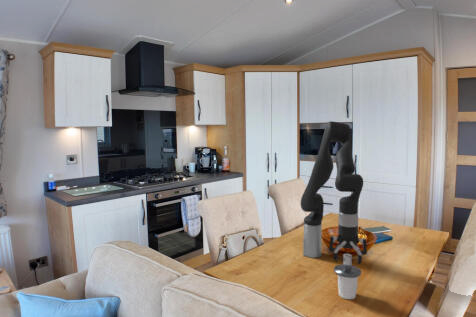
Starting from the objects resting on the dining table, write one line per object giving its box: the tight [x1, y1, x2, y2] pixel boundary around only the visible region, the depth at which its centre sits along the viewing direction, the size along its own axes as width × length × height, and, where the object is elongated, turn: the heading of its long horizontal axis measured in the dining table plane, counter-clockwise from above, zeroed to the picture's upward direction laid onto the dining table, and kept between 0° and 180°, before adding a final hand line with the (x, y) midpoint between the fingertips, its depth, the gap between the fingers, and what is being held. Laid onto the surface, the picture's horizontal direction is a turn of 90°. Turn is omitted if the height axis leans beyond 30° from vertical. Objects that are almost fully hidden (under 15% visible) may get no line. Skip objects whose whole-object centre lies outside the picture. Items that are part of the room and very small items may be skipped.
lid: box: [333, 253, 362, 278], centre depth 130 cm, size 10×10×7 cm
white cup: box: [337, 275, 359, 300], centre depth 130 cm, size 8×8×10 cm
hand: (347, 262), depth 130 cm, fingers open, 8 cm apart
